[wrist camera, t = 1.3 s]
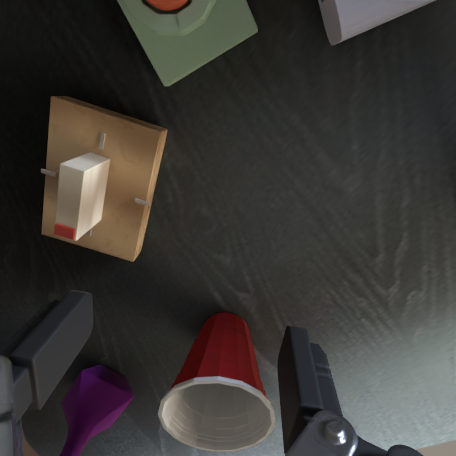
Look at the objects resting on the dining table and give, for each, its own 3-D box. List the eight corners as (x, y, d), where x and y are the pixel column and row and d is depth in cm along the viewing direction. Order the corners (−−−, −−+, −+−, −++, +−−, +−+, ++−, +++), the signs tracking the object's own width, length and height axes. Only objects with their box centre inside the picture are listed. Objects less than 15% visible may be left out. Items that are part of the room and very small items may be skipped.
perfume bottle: (93, 350, 43) (-6, 512, 27) (142, 375, 44) (76, 546, 28) (73, 382, 46) (-29, 547, 29) (119, 405, 47) (47, 575, 31)
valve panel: (62, 94, 30) (45, 95, 28) (171, 130, 31) (164, 133, 28) (51, 223, 36) (36, 233, 33) (144, 252, 36) (136, 263, 34)
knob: (89, 151, 30) (58, 164, 25) (110, 158, 30) (83, 172, 25) (82, 214, 32) (51, 235, 27) (101, 220, 32) (74, 242, 28)
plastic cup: (202, 371, 43) (184, 467, 32) (170, 307, 39) (137, 392, 28) (280, 354, 41) (290, 452, 30) (254, 286, 37) (254, 369, 26)
